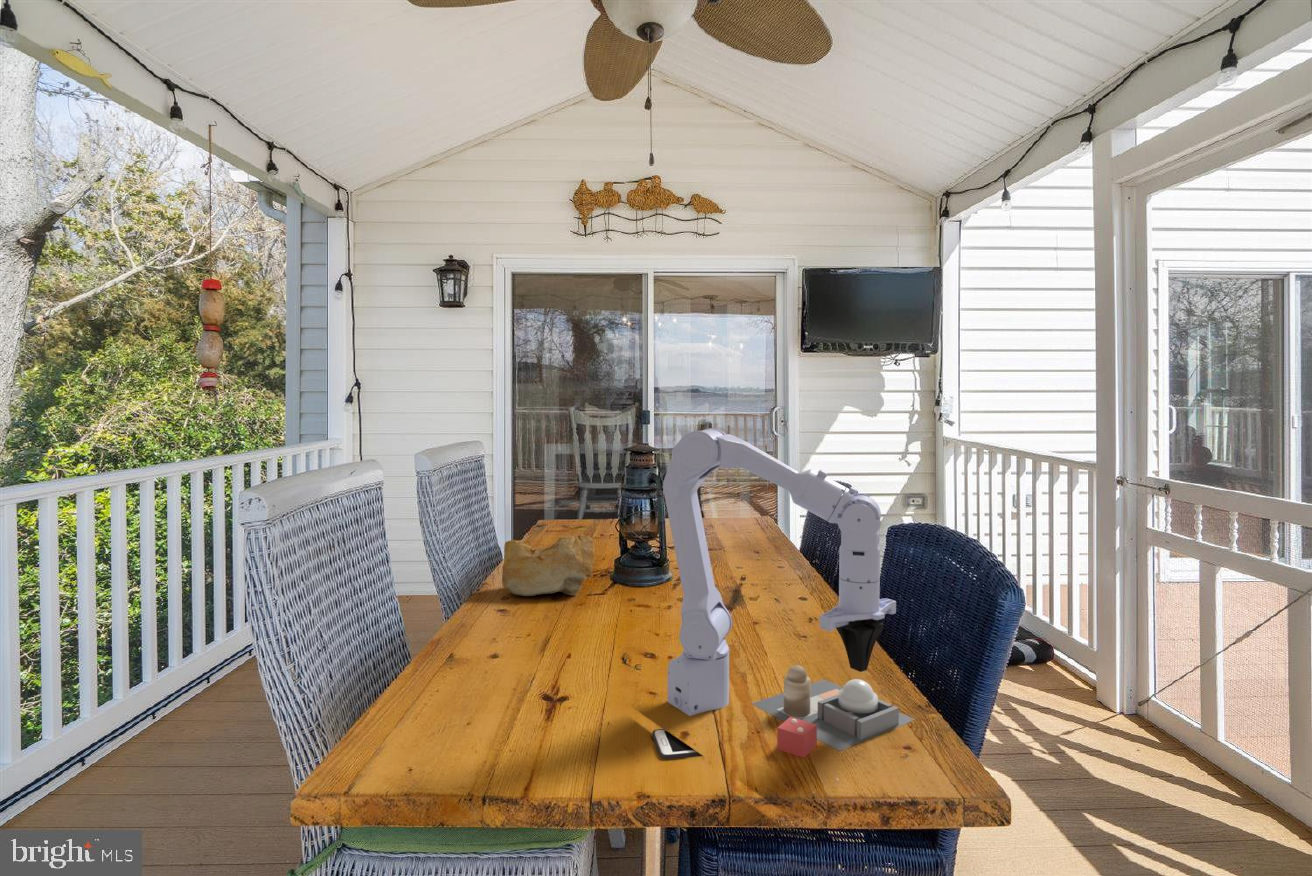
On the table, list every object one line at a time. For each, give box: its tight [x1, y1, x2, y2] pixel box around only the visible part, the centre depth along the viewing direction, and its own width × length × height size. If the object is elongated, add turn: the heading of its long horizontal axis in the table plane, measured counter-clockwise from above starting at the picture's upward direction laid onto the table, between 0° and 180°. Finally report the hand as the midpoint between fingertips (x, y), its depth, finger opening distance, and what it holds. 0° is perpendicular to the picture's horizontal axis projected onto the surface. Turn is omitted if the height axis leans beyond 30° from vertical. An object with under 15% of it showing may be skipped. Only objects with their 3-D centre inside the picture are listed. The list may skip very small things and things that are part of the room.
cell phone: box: [651, 728, 704, 760], centre depth 101 cm, size 8×15×1 cm, turn 100°
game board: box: [751, 679, 916, 752], centre depth 108 cm, size 16×18×4 cm
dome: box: [838, 678, 879, 713], centre depth 104 cm, size 6×6×5 cm
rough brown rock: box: [501, 534, 595, 597], centre depth 179 cm, size 23×17×15 cm
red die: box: [776, 717, 818, 759], centre depth 97 cm, size 4×4×4 cm
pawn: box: [783, 664, 812, 717], centre depth 108 cm, size 4×4×7 cm
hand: (858, 669), depth 104 cm, fingers closed
